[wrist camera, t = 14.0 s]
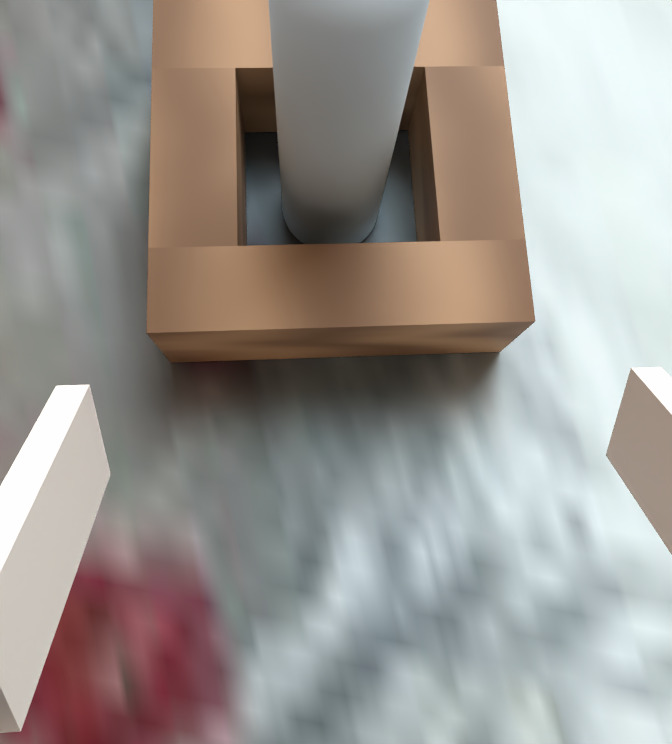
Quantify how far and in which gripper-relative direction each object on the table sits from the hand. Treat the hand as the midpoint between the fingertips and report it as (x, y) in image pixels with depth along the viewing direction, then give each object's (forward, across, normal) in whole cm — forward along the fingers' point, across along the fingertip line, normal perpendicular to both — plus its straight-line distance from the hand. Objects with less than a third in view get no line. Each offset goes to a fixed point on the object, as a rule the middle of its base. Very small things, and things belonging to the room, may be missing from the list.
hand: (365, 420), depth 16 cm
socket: (+14, 0, +1) cm, 14 cm away
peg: (+14, 0, +1) cm, 14 cm away
